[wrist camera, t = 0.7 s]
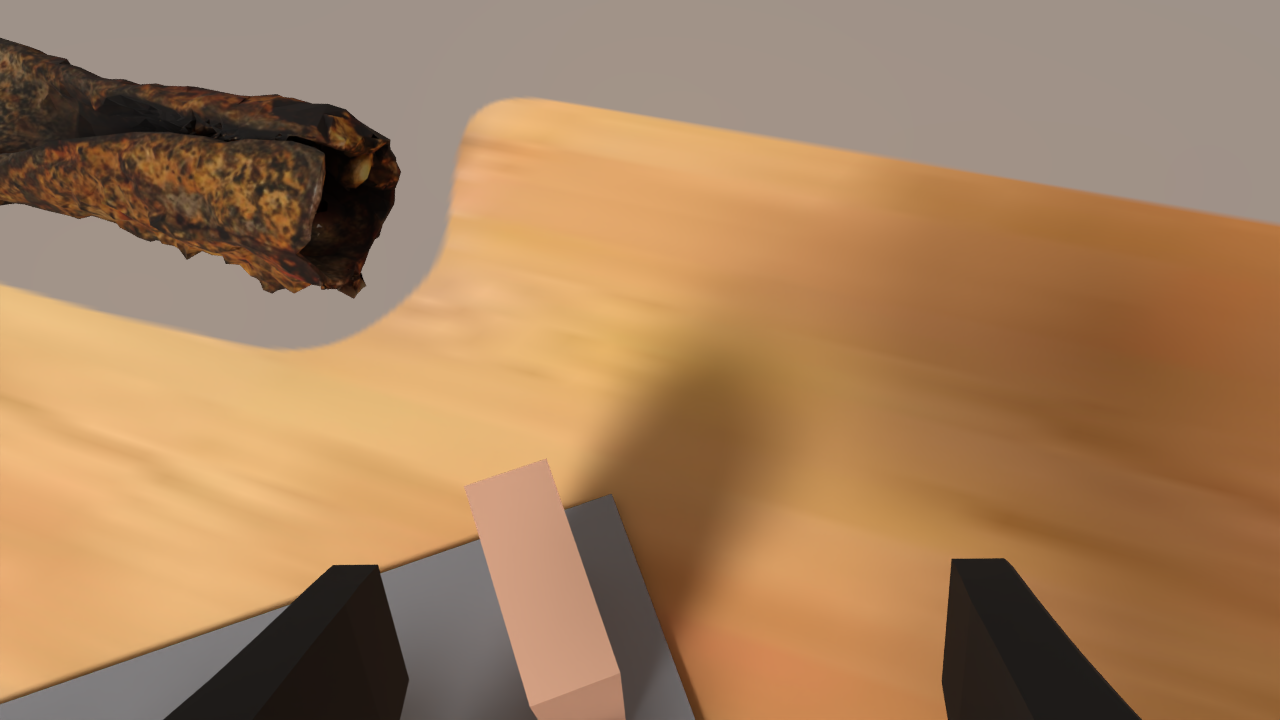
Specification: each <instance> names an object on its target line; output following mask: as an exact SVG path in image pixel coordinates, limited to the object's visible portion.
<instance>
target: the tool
mask: <svg viewBox="0 0 1280 720" xmlns="http://www.w3.org/2000/svg"><path fill="white" fill-rule="evenodd" d="M400 173H401V171H400V169H399V167H398V165H397V162H396V157H395V155H394V154H393V152H392V151H391V149H390V139H388V138H386V137H385V136H383V135H381V134H379V133H378V132H376V131H374V130H373V129H371V128H369V127H368V126H366V125H364V124H363V123H361V122H360V121H358V120H357V119H356V118H355V117H354V116H353V115H351V114H350V113H349V112H348V111H347V110H346V109H342V108H339V107H336V106H333V105H330V104H312V103H308V102H305V101H301V100H298V99H295V98H287V97H282V96H280V95H278V94H274V95H263V96H240V95H234V94H229V93H224V92H219V91H214V90H209V89H204V88H199V87H190V86H185V87H182V86H163V85H160V84H142V85H140V84H137V83H133V82H131V81H127V80H124V79H106V78H101V77H99V76H97V75H95V74H93V73H91V72H89V71H86V70H84V69H82V68H80V67H77V66H73V65H70V63H69V61H68V60H67V59H65V58H60V57H55V56H51V55H47V54H45V53H43V52H41V51H40V50H37V49H34V48H31V47H28V46H25V45H22V44H19V43H16V42H12V41H9V40H5V39H2V38H0V205H6V204H14V203H17V204H25V205H29V206H32V207H36V208H39V209H43V210H47V211H51V212H56V213H60V214H64V215H68V216H72V217H75V218H78V219H81V218H85V217H89V216H95V217H98V218H101V219H105V220H107V221H110V222H114V223H117V224H118V225H119V227H120V228H122V229H124V230H126V231H128V232H130V233H132V234H133V235H135V236H137V237H139V238H142V239H144V240H147V241H150V242H151V241H155V240H159V241H161V243H162V244H167V245H172V246H175V247H177V248H179V250H180V251H181V252H182V254H183V255H184V256H185V258H186V259H189V258H191V257H193V256H194V255H196V254H198V253H199V252H201V251H204V252H206V253H209V254H211V255H218V256H223V257H224V260H225V263H226V264H237V265H241V266H242V267H243V268H244V270H245V271H246V272H247V273H248V274H249V275H250V276H252V277H255V278H257V279H258V280H259V281H260V283H261V285H262V288H263V290H265V291H267V292H270V293H274V292H275V291H277V290H280V289H285V288H286V289H288V290H289V291H291V292H293V293H296V292H298V291H300V290H302V289H304V288H306V287H307V286H310V285H311V284H312V285H317V286H321V289H322V290H325V289H337V290H338V291H340V292H342V293H344V294H346V295H348V296H350V297H352V298H355V296H356V295H357V294H358V292H360V291H361V289H362V288H363V287H365V286H366V284H365V282H364V279H363V277H362V273H361V270H362V267H363V265H364V264H365V261H366V258H367V255H368V252H369V249H370V248H371V246H372V244H373V242H374V240H375V239H376V238H378V237H379V235H380V232H381V228H382V225H383V223H384V221H385V220H386V218H387V216H388V214H389V213H390V211H391V209H392V207H393V205H394V201H395V188H396V185H397V183H398V180H399V176H400Z"/></svg>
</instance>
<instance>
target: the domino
mask: <svg viewBox="0 0 1280 720" xmlns="http://www.w3.org/2000/svg"><path fill="white" fill-rule="evenodd" d="M464 487H465V491H466V494H467V498H468V501H469V504H470V508H471V511H472V514H473V518H474V521H475V524H476V528H477V531H478V534H479V538H480V541H481V545H482V548H483V551H484V555H485V558H486V561H487V565H488V568H489V571H490V575H491V578H492V581H493V585H494V588H495V592H496V595H497V598H498V602H499V605H500V608H501V612H502V615H503V618H504V622H505V625H506V628H507V632H508V635H509V639H510V642H511V645H512V649H513V652H514V655H515V659H516V662H517V665H518V669H519V672H520V676H521V679H522V682H523V686H524V689H525V692H526V696H527V699H528V702H529V706H530V708H531V710H532V711H533V713H534V714H535V716H536V717H537V719H538V720H626V718H625V709H624V700H623V692H622V683H621V674H620V671H619V668H618V665H617V662H616V659H615V656H614V653H613V650H612V647H611V644H610V642H609V639H608V636H607V633H606V630H605V627H604V624H603V621H602V618H601V615H600V613H599V610H598V607H597V604H596V601H595V598H594V595H593V592H592V589H591V586H590V583H589V581H588V578H587V575H586V572H585V569H584V566H583V563H582V560H581V557H580V554H579V552H578V549H577V546H576V543H575V540H574V537H573V534H572V531H571V528H570V525H569V522H568V520H567V517H566V514H565V511H564V508H563V505H562V502H561V499H560V496H559V493H558V491H557V488H556V485H555V482H554V479H553V476H552V473H551V470H550V467H549V464H548V461H547V459H544V460H541V461H538V462H535V463H532V464H529V465H526V466H523V467H520V468H517V469H514V470H511V471H508V472H505V473H502V474H499V475H496V476H493V477H490V478H487V479H484V480H481V481H478V482H475V483H472V484H469V485H466V486H464Z"/></svg>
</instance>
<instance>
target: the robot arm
mask: <svg viewBox="0 0 1280 720" xmlns="http://www.w3.org/2000/svg"><path fill="white" fill-rule="evenodd" d="M408 683H409V677H408V673H407V669H406V666H405V662H404V658H403V655H402V651H401V647H400V644H399V640H398V636H397V633H396V629H395V625H394V622H393V618H392V614H391V611H390V607H389V604H388V600H387V596H386V593H385V589H384V585H383V582H382V578H381V574H380V571H379V567H378V565H333V566H332V567H330V568H329V569H328V570H327V571H326V572H325V573H324V574H323V575H321V576H320V577H319V578H318V579H317V580H316V581H315V582H314V583H313V584H312V585H311V586H309V587H308V588H307V589H306V590H305V591H304V592H303V593H302V594H301V595H300V596H299V597H298V598H297V599H296V600H295V601H294V602H292V603H291V604H290V605H289V606H288V607H287V608H286V609H285V610H284V611H283V612H282V613H281V614H280V615H279V616H278V617H277V618H276V619H275V620H274V621H272V622H271V623H270V624H269V625H268V626H267V627H266V628H265V629H264V630H263V631H262V632H261V633H260V634H259V635H258V636H257V637H255V638H254V639H253V640H252V641H251V642H250V643H249V644H248V645H247V646H246V647H245V648H244V649H242V650H241V651H240V652H239V653H238V654H237V655H236V656H235V657H234V658H233V659H232V660H231V661H229V662H228V663H227V664H226V665H225V666H224V667H223V668H222V669H221V670H220V671H219V672H218V673H216V674H215V675H214V676H213V677H212V678H211V679H210V680H209V681H208V682H206V683H205V684H204V685H203V686H202V687H201V688H199V689H198V690H197V691H196V692H195V693H194V694H192V695H191V696H190V697H189V698H188V699H187V700H185V701H184V702H183V703H182V704H181V705H179V706H178V707H177V708H176V709H175V710H174V711H172V712H171V713H170V714H169V715H168V716H167V717H165V718H164V719H163V720H400V718H401V713H402V709H403V705H404V700H405V696H406V692H407V687H408ZM942 686H943V693H944V699H945V705H946V711H947V717H948V720H1142V719H1141V718H1140V717H1139V716H1138V715H1137V714H1136V713H1135V712H1134V711H1133V710H1132V709H1131V708H1130V706H1129V705H1128V704H1127V703H1126V702H1125V701H1124V700H1123V699H1122V698H1121V697H1120V696H1119V694H1118V693H1117V692H1116V691H1115V690H1114V689H1113V688H1112V687H1111V685H1110V684H1109V683H1108V682H1107V681H1106V680H1105V679H1104V678H1103V676H1102V675H1101V674H1100V673H1099V672H1098V671H1097V670H1096V669H1095V668H1094V666H1093V665H1092V664H1091V663H1090V662H1089V661H1088V660H1087V658H1086V657H1085V656H1084V655H1083V654H1082V653H1081V651H1080V650H1079V649H1078V648H1077V647H1076V646H1075V644H1074V643H1073V642H1072V641H1071V640H1070V638H1069V637H1068V636H1067V635H1066V633H1065V632H1064V631H1063V630H1062V629H1061V627H1060V626H1059V625H1058V624H1057V623H1056V621H1055V620H1054V619H1053V618H1052V616H1051V615H1050V614H1049V613H1048V611H1047V610H1046V609H1045V608H1044V606H1043V605H1042V604H1041V603H1040V601H1039V600H1038V599H1037V597H1036V596H1035V595H1034V594H1033V592H1032V591H1031V590H1030V588H1029V587H1028V586H1027V584H1026V583H1025V582H1024V581H1023V579H1022V578H1021V577H1020V575H1019V574H1018V573H1017V571H1016V570H1015V569H1014V567H1013V566H1012V565H1011V564H1010V563H1009V562H1008V561H1007V560H1005V559H1004V558H992V559H952V562H951V574H950V586H949V599H948V611H947V623H946V636H945V648H944V660H943V673H942Z"/></svg>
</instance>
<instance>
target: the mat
mask: <svg viewBox="0 0 1280 720" xmlns="http://www.w3.org/2000/svg"><path fill="white" fill-rule="evenodd" d="M564 511H565V514H566V517H567V520H568V522H569V525H570V528H571V531H572V534H573V537H574V540H575V543H576V546H577V549H578V552H579V554H580V557H581V560H582V563H583V566H584V569H585V572H586V575H587V578H588V581H589V583H590V586H591V589H592V592H593V595H594V598H595V601H596V604H597V607H598V610H599V613H600V615H601V618H602V621H603V624H604V627H605V630H606V633H607V636H608V639H609V642H610V644H611V647H612V650H613V653H614V656H615V659H616V662H617V665H618V668H619V671H620V674H621V683H622V692H623V700H624V709H625V718H626V720H695V717H694V715H693V712H692V709H691V707H690V704H689V701H688V699H687V696H686V693H685V690H684V688H683V685H682V682H681V680H680V677H679V674H678V672H677V669H676V666H675V663H674V661H673V658H672V655H671V653H670V650H669V647H668V645H667V642H666V639H665V637H664V634H663V631H662V628H661V626H660V623H659V620H658V618H657V615H656V612H655V610H654V607H653V604H652V601H651V599H650V596H649V593H648V591H647V588H646V585H645V583H644V580H643V577H642V575H641V572H640V569H639V566H638V564H637V561H636V558H635V556H634V553H633V550H632V548H631V545H630V542H629V540H628V537H627V534H626V531H625V529H624V526H623V523H622V521H621V518H620V515H619V513H618V510H617V507H616V504H615V502H614V499H613V496H612V494H610V495H607V496H604V497H601V498H598V499H595V500H592V501H589V502H586V503H583V504H581V505H578V506H575V507H572V508H569V509H566V510H564ZM380 574H381V578H382V582H383V585H384V589H385V593H386V596H387V600H388V604H389V607H390V611H391V614H392V618H393V622H394V625H395V629H396V633H397V636H398V640H399V644H400V647H401V651H402V655H403V658H404V662H405V666H406V669H407V673H408V677H409V683H408V687H407V692H406V696H405V700H404V705H403V709H402V713H401V718H400V720H538V719H537V717H536V716H535V714H534V713H533V711H532V710H531V708H530V706H529V702H528V699H527V696H526V692H525V689H524V686H523V682H522V679H521V676H520V672H519V669H518V665H517V662H516V659H515V655H514V652H513V649H512V645H511V642H510V639H509V635H508V632H507V628H506V625H505V622H504V618H503V615H502V612H501V608H500V605H499V602H498V598H497V595H496V592H495V588H494V585H493V581H492V578H491V575H490V571H489V568H488V565H487V561H486V558H485V555H484V551H483V548H482V545H481V541H480V539H479V540H476V541H473V542H470V543H467V544H464V545H462V546H459V547H456V548H453V549H450V550H447V551H444V552H441V553H438V554H435V555H433V556H430V557H427V558H424V559H421V560H418V561H415V562H412V563H409V564H406V565H404V566H401V567H398V568H395V569H392V570H389V571H386V572H383V573H380ZM288 606H289V605H287V606H285V607H282V608H279V609H276V610H273V611H270V612H267V613H264V614H261V615H258V616H255V617H253V618H250V619H247V620H244V621H241V622H238V623H235V624H232V625H229V626H226V627H224V628H221V629H218V630H215V631H212V632H209V633H206V634H203V635H200V636H197V637H195V638H192V639H189V640H186V641H183V642H180V643H177V644H174V645H171V646H168V647H166V648H163V649H160V650H157V651H154V652H151V653H148V654H145V655H142V656H139V657H137V658H134V659H131V660H128V661H125V662H122V663H119V664H116V665H113V666H110V667H107V668H105V669H102V670H99V671H96V672H93V673H90V674H87V675H84V676H81V677H78V678H76V679H73V680H70V681H67V682H64V683H61V684H58V685H55V686H52V687H49V688H47V689H44V690H41V691H38V692H35V693H32V694H29V695H26V696H23V697H20V698H18V699H15V700H12V701H9V702H6V703H3V704H0V720H163V719H164V718H165V717H167V716H168V715H169V714H170V713H171V712H172V711H174V710H175V709H176V708H177V707H178V706H179V705H181V704H182V703H183V702H184V701H185V700H187V699H188V698H189V697H190V696H191V695H192V694H194V693H195V692H196V691H197V690H198V689H199V688H201V687H202V686H203V685H204V684H205V683H206V682H208V681H209V680H210V679H211V678H212V677H213V676H214V675H215V674H216V673H218V672H219V671H220V670H221V669H222V668H223V667H224V666H225V665H226V664H227V663H228V662H229V661H231V660H232V659H233V658H234V657H235V656H236V655H237V654H238V653H239V652H240V651H241V650H242V649H244V648H245V647H246V646H247V645H248V644H249V643H250V642H251V641H252V640H253V639H254V638H255V637H257V636H258V635H259V634H260V633H261V632H262V631H263V630H264V629H265V628H266V627H267V626H268V625H269V624H270V623H271V622H272V621H274V620H275V619H276V618H277V617H278V616H279V615H280V614H281V613H282V612H283V611H284V610H285V609H286V608H287V607H288Z"/></svg>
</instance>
